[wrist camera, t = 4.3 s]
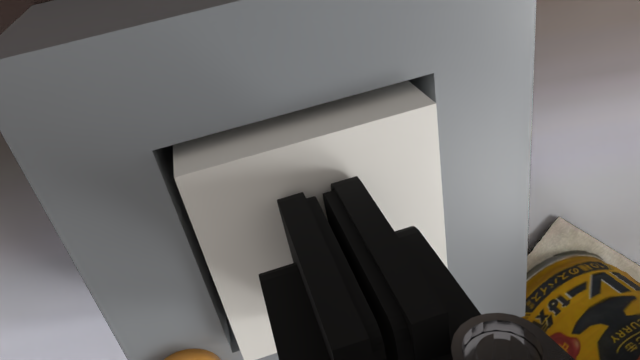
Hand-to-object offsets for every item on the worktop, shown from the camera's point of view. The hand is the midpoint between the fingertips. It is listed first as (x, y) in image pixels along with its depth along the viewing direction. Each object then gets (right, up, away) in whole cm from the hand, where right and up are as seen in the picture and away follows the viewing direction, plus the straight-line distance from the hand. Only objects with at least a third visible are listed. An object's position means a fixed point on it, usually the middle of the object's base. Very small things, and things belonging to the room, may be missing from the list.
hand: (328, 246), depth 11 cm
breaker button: (-1, +2, +3) cm, 4 cm away
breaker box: (-1, +3, +5) cm, 6 cm away
